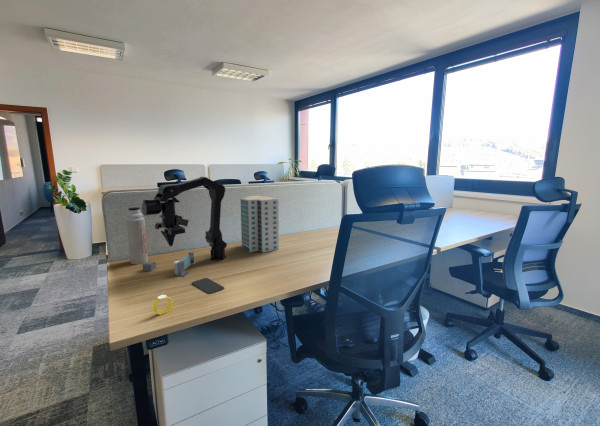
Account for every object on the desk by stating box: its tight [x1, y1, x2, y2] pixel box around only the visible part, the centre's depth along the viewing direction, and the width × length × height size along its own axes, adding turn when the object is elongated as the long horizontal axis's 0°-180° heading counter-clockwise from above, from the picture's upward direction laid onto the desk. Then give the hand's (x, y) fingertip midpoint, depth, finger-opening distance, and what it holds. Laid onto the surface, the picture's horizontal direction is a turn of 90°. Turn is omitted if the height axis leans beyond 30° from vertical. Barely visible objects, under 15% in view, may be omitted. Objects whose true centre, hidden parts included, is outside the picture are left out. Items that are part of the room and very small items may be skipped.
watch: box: [152, 294, 173, 316], centre depth 96 cm, size 6×3×6 cm, turn 146°
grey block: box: [176, 260, 189, 277], centre depth 129 cm, size 3×4×6 cm
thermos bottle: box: [125, 206, 149, 265], centre depth 144 cm, size 8×8×28 cm
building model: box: [239, 195, 280, 253], centre depth 169 cm, size 20×16×30 cm
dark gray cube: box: [142, 260, 157, 272], centre depth 135 cm, size 4×4×4 cm
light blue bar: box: [173, 254, 192, 275], centre depth 134 cm, size 2×12×6 cm, turn 174°
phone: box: [191, 277, 225, 295], centre depth 118 cm, size 7×1×15 cm
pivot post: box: [187, 251, 197, 266], centre depth 143 cm, size 4×4×6 cm
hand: (171, 245), depth 132 cm, fingers closed
